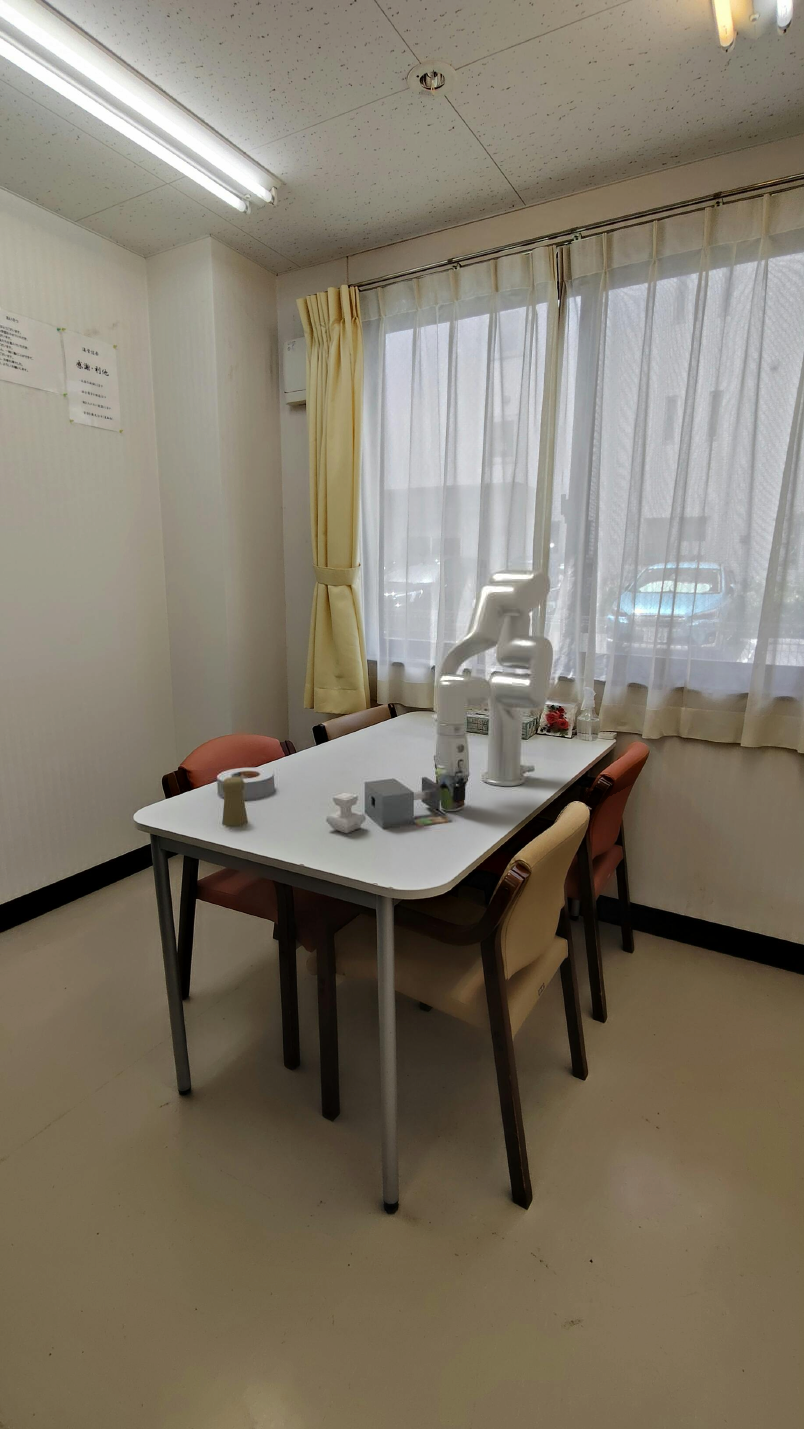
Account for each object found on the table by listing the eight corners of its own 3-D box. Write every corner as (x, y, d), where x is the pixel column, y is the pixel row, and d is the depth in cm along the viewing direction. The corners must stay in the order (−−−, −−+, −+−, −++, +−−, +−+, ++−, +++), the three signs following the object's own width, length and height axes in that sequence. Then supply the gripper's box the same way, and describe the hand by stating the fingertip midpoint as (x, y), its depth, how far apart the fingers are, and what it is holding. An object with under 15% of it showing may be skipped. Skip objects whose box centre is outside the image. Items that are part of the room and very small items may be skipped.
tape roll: (233, 782, 190) (232, 765, 189) (283, 785, 187) (282, 768, 186) (207, 798, 175) (206, 780, 174) (261, 802, 172) (260, 784, 171)
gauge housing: (394, 808, 168) (394, 778, 166) (413, 824, 157) (413, 792, 155) (364, 812, 165) (364, 782, 163) (382, 829, 154) (382, 796, 152)
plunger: (425, 800, 169) (426, 777, 168) (445, 814, 159) (446, 789, 157) (393, 805, 165) (393, 781, 164) (412, 820, 155) (412, 794, 154)
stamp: (370, 829, 153) (369, 795, 152) (351, 838, 148) (351, 803, 147) (341, 821, 159) (340, 788, 157) (322, 829, 153) (321, 795, 152)
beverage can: (463, 814, 164) (464, 768, 161) (433, 812, 165) (434, 766, 163) (465, 806, 170) (466, 761, 167) (437, 804, 171) (438, 759, 169)
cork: (234, 828, 154) (232, 783, 152) (216, 823, 157) (214, 779, 155) (253, 820, 159) (251, 777, 157) (235, 816, 162) (233, 773, 160)
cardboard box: (445, 817, 161) (445, 815, 161) (450, 821, 159) (450, 819, 159) (413, 822, 158) (413, 820, 158) (419, 826, 155) (419, 824, 155)
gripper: (482, 735, 157) (480, 803, 160) (448, 721, 173) (447, 784, 176) (454, 737, 154) (453, 807, 157) (423, 723, 170) (422, 787, 173)
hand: (450, 795), depth 167 cm, fingers open, 8 cm apart
